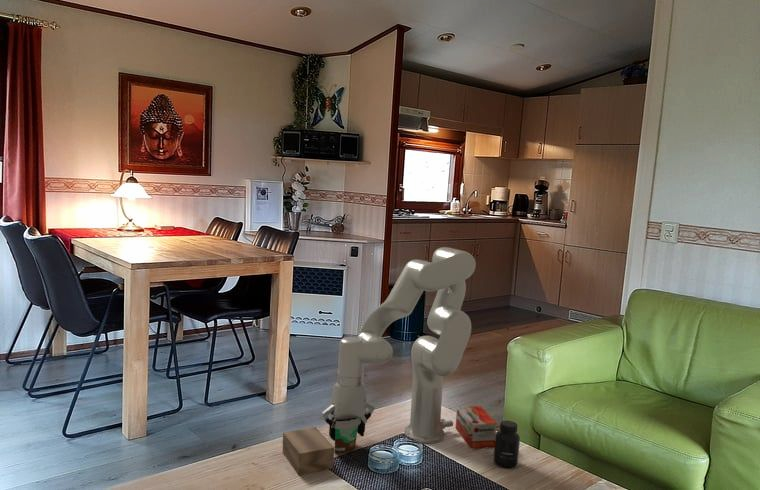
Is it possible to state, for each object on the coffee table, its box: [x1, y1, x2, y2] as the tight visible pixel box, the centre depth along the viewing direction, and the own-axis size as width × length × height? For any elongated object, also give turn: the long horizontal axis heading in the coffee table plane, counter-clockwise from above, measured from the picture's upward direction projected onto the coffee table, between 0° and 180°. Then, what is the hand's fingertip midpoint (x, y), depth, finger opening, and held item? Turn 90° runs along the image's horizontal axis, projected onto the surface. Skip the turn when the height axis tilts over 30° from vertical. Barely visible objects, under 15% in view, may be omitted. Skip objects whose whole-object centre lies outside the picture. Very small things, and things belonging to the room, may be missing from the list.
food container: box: [334, 417, 361, 454], centre depth 169 cm, size 12×6×10 cm, turn 170°
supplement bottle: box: [493, 420, 521, 470], centre depth 164 cm, size 7×7×12 cm
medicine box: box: [455, 405, 497, 450], centre depth 180 cm, size 15×8×8 cm, turn 11°
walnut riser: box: [282, 426, 335, 476], centre depth 160 cm, size 10×14×6 cm
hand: (346, 436), depth 169 cm, fingers closed on food container, 8 cm apart
